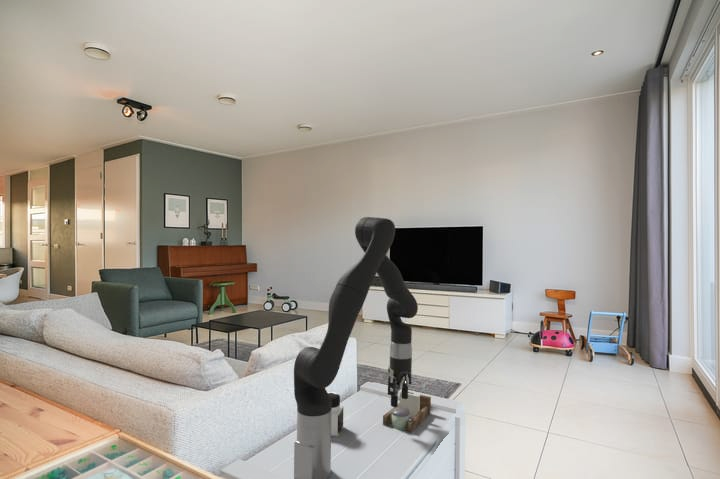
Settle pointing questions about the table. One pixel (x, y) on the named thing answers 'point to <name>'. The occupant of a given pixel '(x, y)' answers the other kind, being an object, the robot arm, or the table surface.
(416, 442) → the table surface
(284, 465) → the table surface
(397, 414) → the jar
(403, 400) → the pusher plate
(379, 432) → the table surface
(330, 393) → the medicine bottle
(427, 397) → the lane
